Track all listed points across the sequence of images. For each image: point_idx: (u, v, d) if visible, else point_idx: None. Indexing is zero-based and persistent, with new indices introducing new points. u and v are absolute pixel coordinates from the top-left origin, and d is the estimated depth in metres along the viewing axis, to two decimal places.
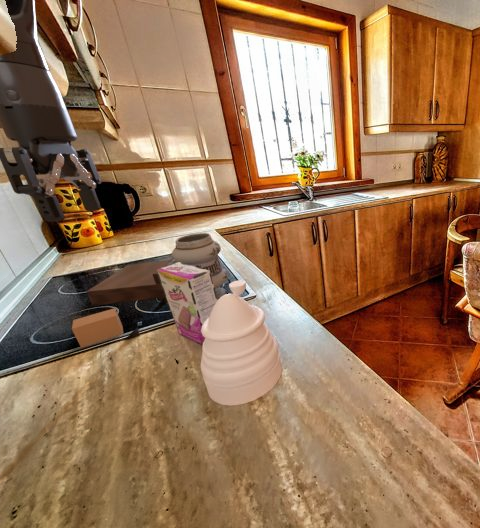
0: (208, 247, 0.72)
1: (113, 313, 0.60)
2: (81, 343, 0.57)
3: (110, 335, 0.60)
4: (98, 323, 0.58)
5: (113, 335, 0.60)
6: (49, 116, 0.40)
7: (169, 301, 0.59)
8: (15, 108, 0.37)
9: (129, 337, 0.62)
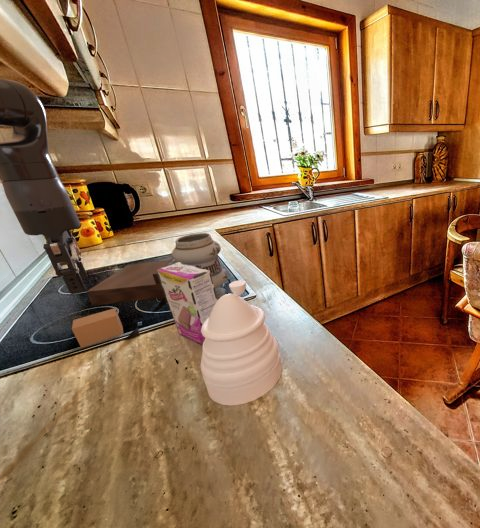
0: (208, 247, 0.72)
1: (113, 313, 0.60)
2: (81, 343, 0.57)
3: (110, 335, 0.60)
4: (98, 323, 0.58)
5: (113, 335, 0.60)
6: (70, 213, 0.51)
7: (169, 301, 0.59)
8: (47, 212, 0.48)
9: (129, 337, 0.62)
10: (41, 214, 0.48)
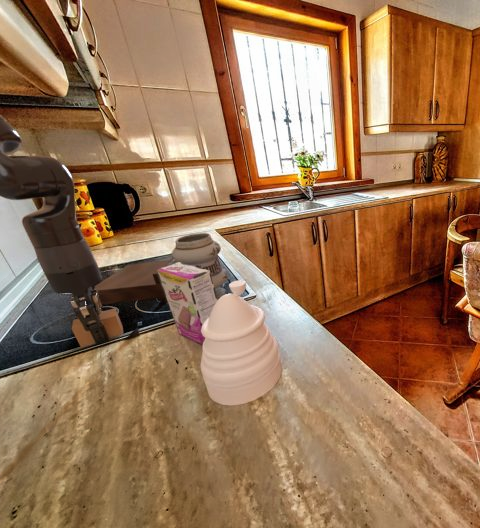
0: (208, 247, 0.72)
1: (113, 313, 0.60)
2: (81, 343, 0.57)
3: (110, 335, 0.60)
4: None
5: (113, 335, 0.60)
6: (94, 270, 0.55)
7: (169, 301, 0.59)
8: (75, 272, 0.52)
9: (129, 337, 0.62)
10: (69, 275, 0.52)
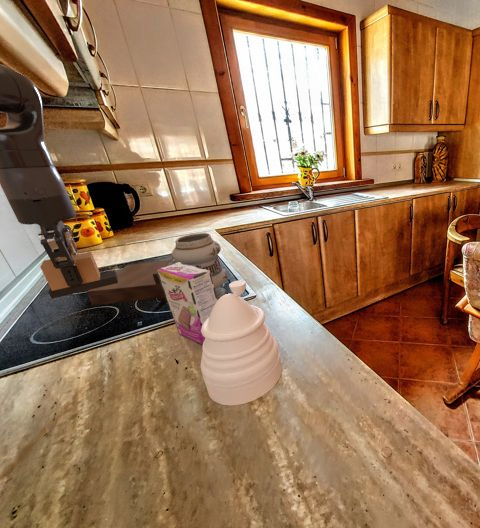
0: (208, 247, 0.72)
1: (88, 255, 0.55)
2: (51, 284, 0.52)
3: (84, 279, 0.55)
4: None
5: (88, 279, 0.55)
6: (65, 203, 0.50)
7: (169, 301, 0.59)
8: (42, 200, 0.47)
9: (106, 283, 0.57)
10: (36, 203, 0.47)
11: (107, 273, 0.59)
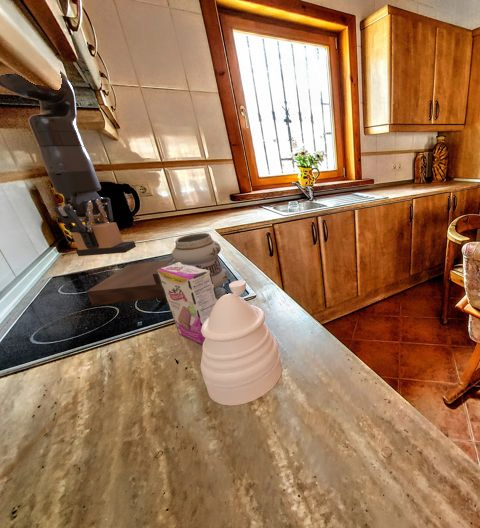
0: (208, 247, 0.72)
1: (106, 225, 0.64)
2: (77, 244, 0.63)
3: (100, 244, 0.64)
4: None
5: (103, 245, 0.64)
6: (84, 178, 0.59)
7: (169, 301, 0.59)
8: (62, 174, 0.57)
9: (116, 251, 0.65)
10: (58, 176, 0.57)
11: (126, 242, 0.68)
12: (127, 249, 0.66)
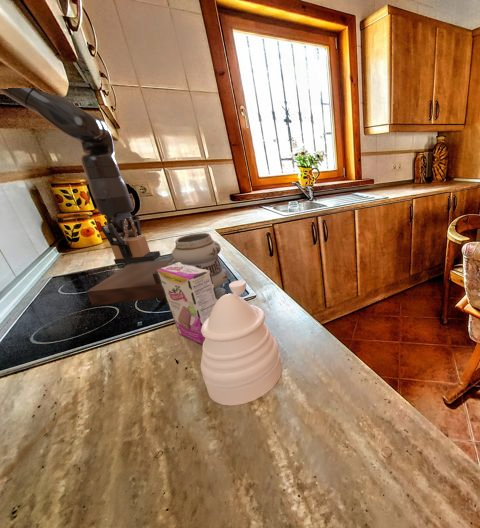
0: (208, 247, 0.72)
1: (138, 238, 0.79)
2: (115, 255, 0.78)
3: (133, 254, 0.79)
4: None
5: (135, 255, 0.79)
6: (122, 201, 0.73)
7: (169, 301, 0.59)
8: (106, 200, 0.71)
9: (146, 259, 0.80)
10: (103, 201, 0.71)
11: (153, 252, 0.83)
12: (155, 258, 0.81)
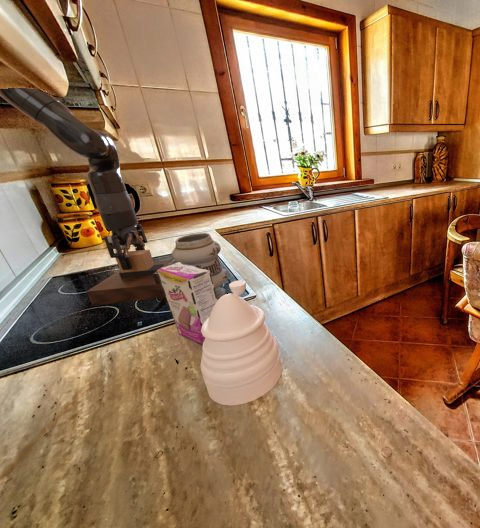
0: (208, 247, 0.72)
1: (143, 252, 0.80)
2: (120, 268, 0.79)
3: (138, 268, 0.80)
4: (131, 257, 0.79)
5: (140, 268, 0.80)
6: (127, 216, 0.75)
7: (169, 301, 0.59)
8: (112, 214, 0.73)
9: (151, 273, 0.81)
10: (108, 216, 0.73)
11: (157, 265, 0.84)
12: None
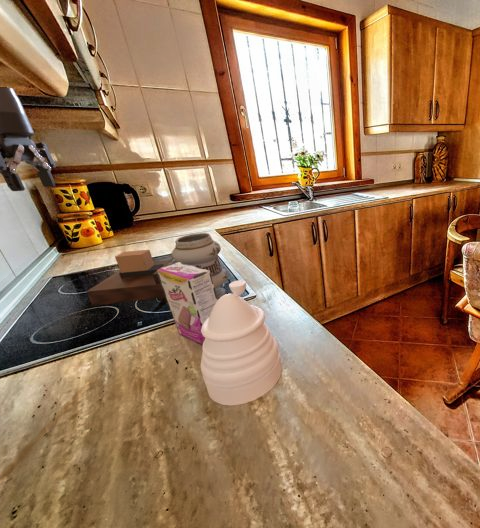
0: (208, 247, 0.72)
1: (143, 252, 0.80)
2: (120, 268, 0.79)
3: (138, 268, 0.80)
4: (131, 257, 0.79)
5: (140, 268, 0.80)
6: (12, 119, 0.59)
7: (169, 301, 0.59)
8: None
9: (151, 273, 0.81)
10: None
11: (157, 265, 0.84)
12: None
